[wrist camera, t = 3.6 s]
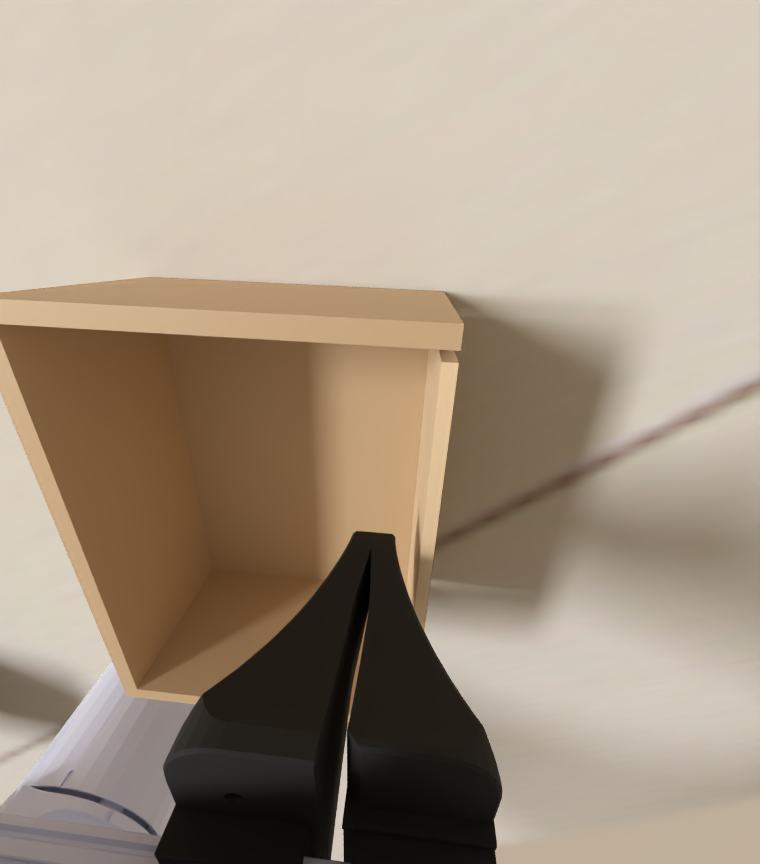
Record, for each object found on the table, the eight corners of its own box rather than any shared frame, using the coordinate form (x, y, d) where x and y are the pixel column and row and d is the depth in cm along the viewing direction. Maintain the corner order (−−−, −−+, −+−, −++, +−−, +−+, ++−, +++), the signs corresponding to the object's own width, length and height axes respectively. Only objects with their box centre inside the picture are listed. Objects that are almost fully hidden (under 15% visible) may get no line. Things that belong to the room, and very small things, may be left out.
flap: (414, 585, 21) (413, 716, 15) (406, 584, 21) (402, 714, 15) (442, 317, 15) (458, 363, 9) (431, 317, 15) (441, 362, 9)
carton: (413, 588, 22) (411, 730, 15) (209, 568, 23) (126, 696, 16) (444, 291, 15) (464, 323, 8) (149, 276, 16) (-40, 296, 9)
